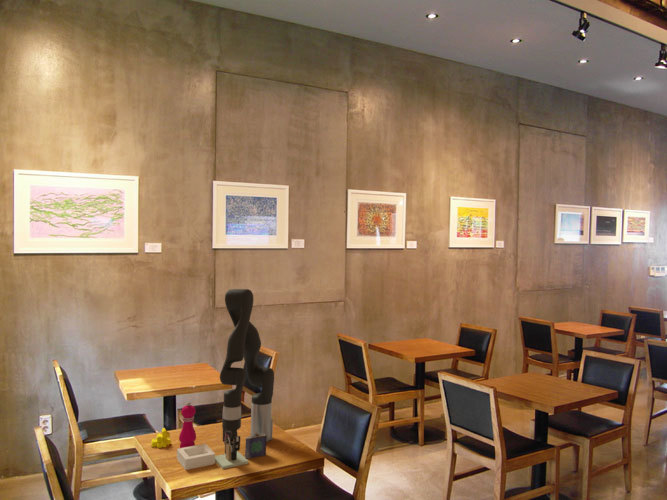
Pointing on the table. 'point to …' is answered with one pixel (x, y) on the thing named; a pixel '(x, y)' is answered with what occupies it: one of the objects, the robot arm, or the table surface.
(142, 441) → the table surface
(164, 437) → the yellow lumpy cluster
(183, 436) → the pepper mill
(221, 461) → the lid
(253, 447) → the flask
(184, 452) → the dish
